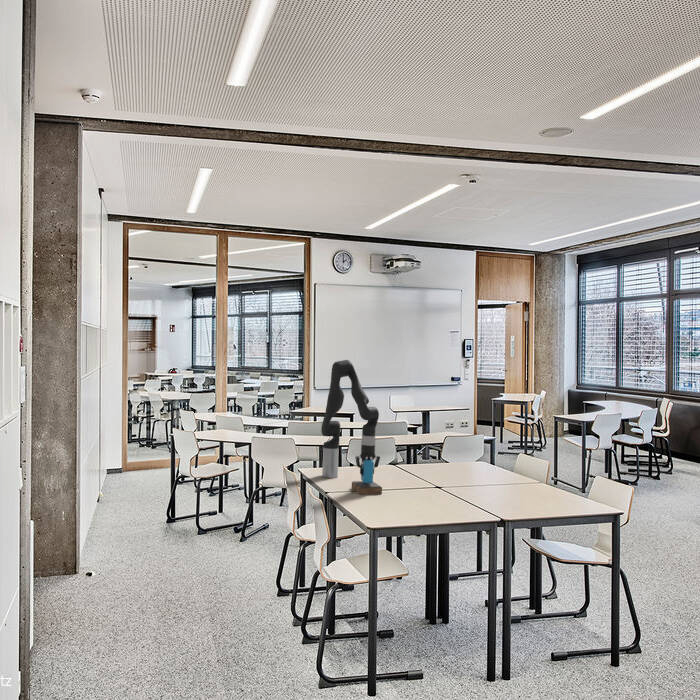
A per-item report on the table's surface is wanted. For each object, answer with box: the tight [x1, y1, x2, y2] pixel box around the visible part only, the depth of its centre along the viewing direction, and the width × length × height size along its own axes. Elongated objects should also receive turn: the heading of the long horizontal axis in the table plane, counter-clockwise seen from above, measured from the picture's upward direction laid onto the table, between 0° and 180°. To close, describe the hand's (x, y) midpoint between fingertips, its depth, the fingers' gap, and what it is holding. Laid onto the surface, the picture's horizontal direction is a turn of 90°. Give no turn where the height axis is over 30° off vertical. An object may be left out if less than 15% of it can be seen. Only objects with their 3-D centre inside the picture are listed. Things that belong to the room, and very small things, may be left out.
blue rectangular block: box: [360, 460, 375, 483], centre depth 345 cm, size 12×4×12 cm, turn 8°
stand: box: [351, 480, 383, 496], centre depth 345 cm, size 15×12×4 cm
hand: (366, 475), depth 345 cm, fingers closed on blue rectangular block, 5 cm apart
